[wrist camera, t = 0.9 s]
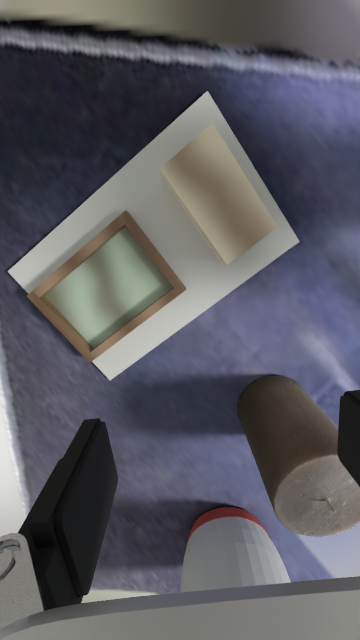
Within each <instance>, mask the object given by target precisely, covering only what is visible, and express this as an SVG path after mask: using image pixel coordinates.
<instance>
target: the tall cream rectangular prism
mask: <svg viewBox="0 0 360 640" xmlns="http://www.w3.org/2000/svg"><path fill="white" fill-rule="evenodd" d="M160 172H161V176H162V180H163V181H164V183H165V184H166V186H167V187H168V189H169V190H170V191H171V193H172V194H173V196H174V197H175V198H176V200H177V201H178V203H179V204H180V205H181V207H182V208H183V210H184V211H185V213H186V214H187V215H188V217H189V218H190V220H191V221H192V222H193V224H194V225H195V227H196V228H197V230H198V231H199V232H200V234H201V235H202V237H203V238H204V239H205V241H206V242H207V244H208V245H209V246H210V248H211V249H212V251H213V252H214V254H215V255H216V256H217V258H218V259H219V261H220V262H221V263H223V264H226V265H228V264H230V263H231V262H232V261H234V260H235V259H236V258H238V257H239V256H240V255H242V254H243V253H244V252H245V251H247V250H248V249H249V248H251V247H252V246H253V245H255V244H256V243H257V242H259V241H260V240H261V239H263V238H264V237H265V236H267V235H268V234H269V233H271V232H272V231H273V230H275V229H276V228H277V227H278V226H277V225H276V223H275V222H274V220H273V218H272V217H271V215H270V214H269V212H268V210H267V209H266V207H265V206H264V204H263V202H262V201H261V199H260V198H259V196H258V194H257V193H256V191H255V190H254V188H253V186H252V185H251V183H250V182H249V180H248V178H247V177H246V175H245V174H244V172H243V170H242V169H241V167H240V166H239V164H238V162H237V161H236V159H235V158H234V156H233V154H232V153H231V151H230V150H229V148H228V146H227V145H226V143H225V142H224V140H223V138H222V137H221V135H220V133H219V132H218V130H217V129H216V127H215V125H214V124H213V122H212V123H211V124H210V125H209V126H208V127H207V128H206V129H205V130H203V131H202V132H201V133H200V134H199V135H198V136H197V137H195V138H194V139H193V140H192V141H191V142H190V143H189V144H187V145H186V146H185V147H184V148H183V149H182V150H181V151H179V152H178V153H177V154H176V155H175V156H174V157H173V158H171V159H170V160H169V161H168V162H167V163H166V164H165V165H163V166H162V167H161V168H160Z"/></svg>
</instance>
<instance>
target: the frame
mask: <svg viewBox="0 0 360 640" xmlns="http://www.w3.org/2000/svg"><path fill="white" fill-rule="evenodd" d="M185 290H186V287H185V286H184V284H183V283H182V282H181V280H180V279H179V278H178V276H177V275H176V274H175V273H174V271H173V270H172V269H171V267H170V266H169V265H168V263H167V262H166V261H165V259H164V258H163V257H162V255H161V254H160V253H159V252H158V250H157V249H156V248H155V246H154V245H153V244H152V242H151V241H150V240H149V238H148V237H147V236H146V235H145V233H144V232H143V231H142V229H141V228H140V227H139V225H138V224H137V223H136V221H135V220H134V219H133V218H132V216H131V215H130V214H129V212H128V211H126V210H125V211H124V212H123V213H122V214H120V215H119V216H118V217H117V218H116V219H115V220H114V221H112V222H111V223H110V224H109V225H108V226H107V227H105V228H104V229H103V230H102V231H101V232H100V233H99V234H97V235H96V236H95V237H94V238H93V239H92V240H90V241H89V242H88V243H87V244H86V245H85V246H84V247H82V248H81V249H80V250H79V251H78V252H77V253H75V254H74V255H73V256H72V257H71V258H70V259H68V260H67V261H66V262H65V263H64V264H63V265H62V266H60V267H59V268H58V269H57V270H56V271H55V272H53V273H52V274H51V275H50V276H49V277H48V278H47V279H45V280H44V281H43V282H42V283H41V284H40V285H38V286H37V287H36V288H35V289H34V290H33V291H32V292H30V293H29V294H28V295H27V297H28V298H29V299H30V300H31V301H32V302H33V303H34V305H35V306H36V307H37V308H38V309H39V310H40V311H41V312H42V313H43V314H44V315H45V316H46V317H47V318H48V319H49V320H50V321H51V323H52V324H53V325H54V326H55V327H56V328H57V329H58V330H59V331H60V332H61V333H62V334H63V335H64V336H65V337H66V338H67V339H68V341H69V342H70V343H71V344H72V345H73V346H74V347H75V348H76V349H77V350H78V351H79V352H80V353H81V354H82V355H83V356H84V357H85V359H86V360H87V361H88V362H89V363H91V362H92V361H93V360H94V359H96V358H97V357H98V356H100V355H101V354H102V353H104V352H105V351H106V350H108V349H109V348H110V347H112V346H113V345H114V344H115V343H117V342H118V341H119V340H121V339H122V338H123V337H125V336H126V335H127V334H129V333H130V332H131V331H133V330H134V329H135V328H137V327H138V326H139V325H140V324H142V323H143V322H144V321H146V320H147V319H148V318H150V317H151V316H152V315H154V314H155V313H156V312H158V311H159V310H160V309H161V308H163V307H164V306H165V305H167V304H168V303H169V302H171V301H172V300H173V299H175V298H176V297H177V296H179V295H180V294H181V293H183V292H184V291H185Z"/></svg>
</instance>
